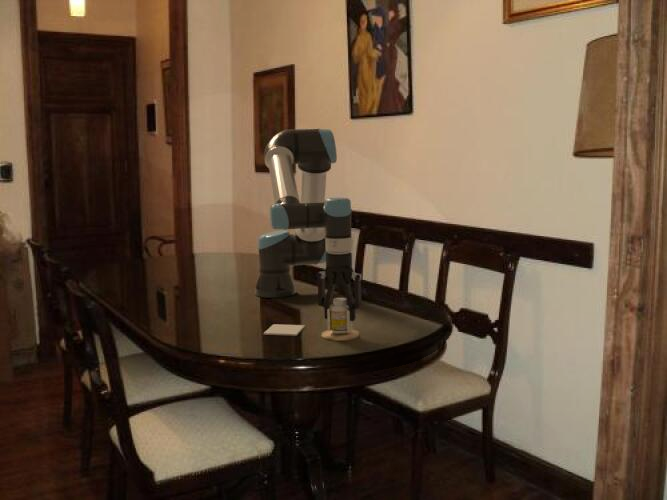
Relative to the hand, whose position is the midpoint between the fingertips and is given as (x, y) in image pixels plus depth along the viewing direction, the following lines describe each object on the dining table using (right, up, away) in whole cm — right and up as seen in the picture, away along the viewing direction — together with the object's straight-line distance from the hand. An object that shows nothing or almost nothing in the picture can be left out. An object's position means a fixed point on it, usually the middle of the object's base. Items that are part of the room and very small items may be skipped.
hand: (340, 330), depth 202 cm
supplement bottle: (0, 0, 0) cm, 1 cm away
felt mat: (-17, -1, +7) cm, 18 cm away
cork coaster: (0, -2, 0) cm, 1 cm away
